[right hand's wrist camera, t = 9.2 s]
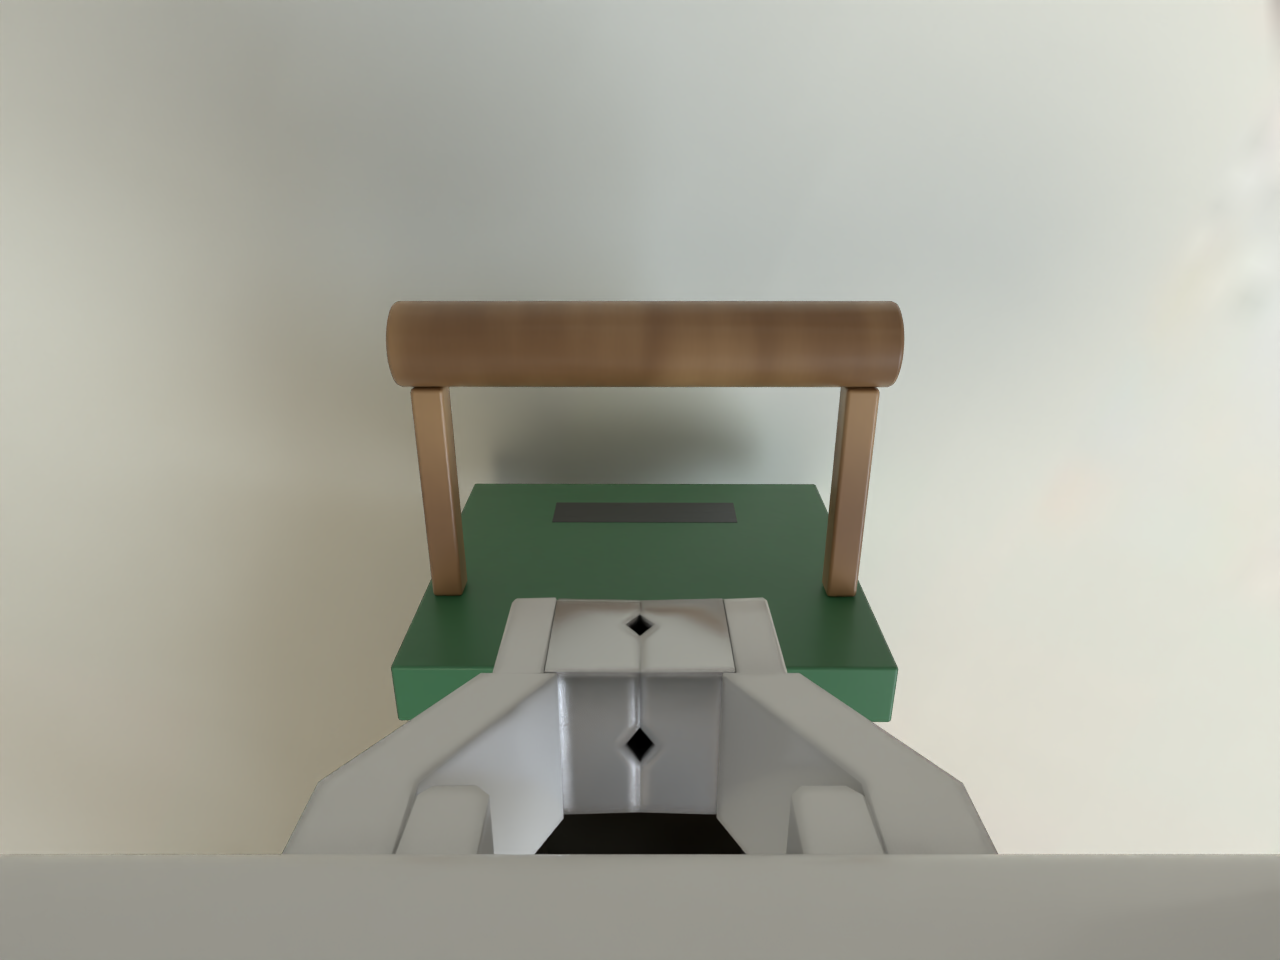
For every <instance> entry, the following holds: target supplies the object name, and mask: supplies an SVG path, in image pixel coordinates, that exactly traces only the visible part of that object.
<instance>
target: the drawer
mask: <svg viewBox="0 0 1280 960" xmlns="http://www.w3.org/2000/svg"><path fill="white" fill-rule="evenodd" d="M386 349H387V358H388V363H389V367H390V371H391V374H392V377H393V379H394V381H395V382H396V383H397V384H398V385H400V386H402V387H413V388H412V390H411V392H410V393H411V401H412V410H413V419H414V428H415V436H416V445H417V454H418V463H419V471H420V480H421V489H422V498H423V506H424V515H425V524H426V533H427V541H428V550H429V559H430V568H431V576H432V579H431V581H430V583H429V586H428V588H427V590H426V592H425V594H424V596H423V599H422V601H421V603H420V605H419V607H418V610H417V612H416V614H415V616H414V618H413V620H412V623H411V625H410V627H409V629H408V631H407V634H406V636H405V638H404V640H403V642H402V644H401V647H400V649H399V651H398V653H397V655H396V658H395V660H394V662H393V664H392V666H391V671H392V678H393V685H394V692H395V699H396V706H397V713H398V718H399V720H412V719H413V718H414V717H416V716H417V715H419V714H420V713H422V712H423V711H425V710H426V709H428V708H429V707H431V706H432V705H434V704H435V703H437V702H438V701H440V700H441V699H443V698H444V697H446V696H447V695H449V694H450V693H452V692H453V691H455V690H456V689H458V688H459V687H461V686H462V685H464V684H465V683H467V682H468V681H470V680H471V679H473V678H474V677H476V676H477V675H479V674H480V673H493V669H494V666H495V662H496V659H497V655H498V651H499V648H500V644H501V641H502V637H503V634H504V630H505V626H506V623H507V619H508V616H509V612H510V608H511V605H512V602H513V601H514V600H515V599H517V598H556V599H557V600H558V599H559V598H566V599H619V600H678V599H719V598H722V599H735V598H758V597H763V598H764V599H766V600H767V602H768V606H769V609H770V613H771V616H772V620H773V624H774V627H775V631H776V634H777V638H778V641H779V645H780V648H781V652H782V655H783V659H784V662H785V666H786V669H787V673H800V674H802V675H803V676H804V677H806V678H807V679H809V680H810V681H812V682H813V683H815V684H816V685H818V686H819V687H821V688H822V689H824V690H825V691H827V692H828V693H830V694H831V695H833V696H834V697H836V698H837V699H839V700H840V701H842V702H843V703H845V704H846V705H847V706H849V707H850V708H852V709H853V710H855V711H856V712H858V713H859V714H861V715H862V716H864V717H865V718H867V719H868V720H870V721H871V722H889V721H890V720H891V715H892V708H893V702H894V695H895V688H896V681H897V674H898V667H897V665H896V663H895V661H894V658H893V656H892V654H891V652H890V650H889V647H888V645H887V643H886V641H885V638H884V636H883V634H882V632H881V630H880V627H879V625H878V623H877V621H876V618H875V616H874V614H873V612H872V610H871V607H870V605H869V603H868V601H867V599H866V596H865V594H864V592H863V590H862V587H861V585H860V583H859V581H858V574H859V565H860V556H861V548H862V539H863V531H864V522H865V513H866V505H867V496H868V488H869V479H870V471H871V462H872V453H873V445H874V436H875V428H876V419H877V411H878V402H879V390H878V389H877V387H889V386H891V385H893V384H894V383H895V381H896V379H897V377H898V375H899V372H900V368H901V364H902V359H903V352H904V325H903V319H902V314H901V311H900V308H899V306H898V305H897V304H896V303H894V302H892V301H398V302H396V303H394V304H393V305H392V307H391V309H390V312H389V316H388V320H387V328H386ZM449 387H841V392H840V402H839V412H838V422H837V433H836V443H835V453H834V464H833V474H832V484H831V494H830V505H829V514H828V512H827V510H826V508H825V505H824V503H823V501H822V499H821V496H820V494H819V492H818V490H817V488H816V485H814V484H475V485H474V487H473V490H472V492H471V494H470V496H469V498H468V500H467V503H466V505H465V507H464V509H463V511H462V514H461V508H460V498H459V487H458V477H457V466H456V456H455V445H454V435H453V424H452V414H451V403H450V393H449ZM563 818H564V819H563V820H562V821H561V822H560V823H559V825H558V826H557V827H556V828H555V830H554V831H553V832H552V833H551V834H550V836H549V837H548V838H547V839H546V841H545V842H544V843H543V844H542V846H541V847H540V848H539V849H538V850H537V852H536V853H535V854H746V853H745V852H744V851H743V850H742V849H741V847H740V846H739V845H738V844H737V842H736V841H735V840H734V839H733V837H732V836H731V835H730V834H729V832H728V831H727V830H726V829H725V828H724V826H723V825H722V824H721V823H720V821H719V820H718V819H717V814H684V813H647V812H630V813H595V814H563Z"/></svg>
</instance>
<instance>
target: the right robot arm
mask: <svg viewBox="0 0 1280 960" xmlns="http://www.w3.org/2000/svg"><path fill="white" fill-rule="evenodd" d="M630 812H647V813H684V814H717V819H718V820H719V821H720V823H721V824H722V825H723V826H724V828H725V829H726V830H727V831H728V832H729V834H730V835H731V836H732V837H733V839H734V840H735V841H736V842H737V844H738V845H739V846H740V847H741V849H742V850H743V851H744V852H745V853H746V854H535V853H536V852H537V850H538V849H539V848H540V847H541V846H542V844H543V843H544V842H545V841H546V839H547V838H548V837H549V836H550V834H551V833H552V832H553V831H554V830H555V828H556V827H557V826H558V825H559V823H560V822H561V821H562V820H563V819H564V818H563V814H595V813H630ZM0 960H1280V854H998V853H997V851H996V849H995V847H994V845H993V843H992V841H991V839H990V837H989V835H988V833H987V831H986V829H985V827H984V825H983V823H982V821H981V819H980V817H979V815H978V813H977V811H976V809H975V807H974V805H973V803H972V801H971V799H970V797H969V795H968V793H967V791H966V789H965V787H964V785H963V783H962V782H960V781H959V780H957V779H956V778H954V777H953V776H951V775H950V774H948V773H947V772H945V771H944V770H942V769H941V768H939V767H938V766H936V765H935V764H933V763H932V762H930V761H929V760H928V759H926V758H925V757H923V756H922V755H920V754H919V753H917V752H916V751H914V750H913V749H911V748H910V747H908V746H907V745H905V744H904V743H902V742H901V741H899V740H898V739H896V738H895V737H893V736H892V735H890V734H889V733H888V732H886V731H885V730H883V729H882V728H880V727H879V726H877V725H876V724H874V723H873V722H871V721H870V720H868V719H867V718H865V717H864V716H862V715H861V714H859V713H858V712H856V711H855V710H853V709H852V708H850V707H849V706H847V705H846V704H845V703H843V702H842V701H840V700H839V699H837V698H836V697H834V696H833V695H831V694H830V693H828V692H827V691H825V690H824V689H822V688H821V687H819V686H818V685H816V684H815V683H813V682H812V681H810V680H809V679H807V678H806V677H804V676H803V675H802V674H800V673H787V669H786V666H785V662H784V659H783V655H782V652H781V648H780V645H779V641H778V638H777V634H776V631H775V627H774V624H773V620H772V616H771V613H770V609H769V606H768V602H767V600H766V599H764V598H763V597H758V598H735V599H722V598H719V599H678V600H619V599H566V598H559V599H558V600H557V599H556V598H517V599H515V600H514V601H513V602H512V605H511V608H510V612H509V616H508V619H507V623H506V626H505V630H504V634H503V637H502V641H501V644H500V648H499V651H498V655H497V659H496V662H495V666H494V669H493V673H480V674H479V675H477V676H476V677H474V678H473V679H471V680H470V681H468V682H467V683H465V684H464V685H462V686H461V687H459V688H458V689H456V690H455V691H453V692H452V693H450V694H449V695H447V696H446V697H444V698H443V699H441V700H440V701H438V702H437V703H435V704H434V705H432V706H431V707H429V708H428V709H426V710H425V711H423V712H422V713H420V714H419V715H417V716H416V717H414V718H413V719H412V720H410V721H409V722H407V723H406V724H404V725H403V726H401V727H400V728H398V729H397V730H395V731H394V732H392V733H391V734H389V735H388V736H386V737H385V738H383V739H382V740H380V741H379V742H377V743H376V744H374V745H373V746H371V747H370V748H368V749H367V750H365V751H364V752H362V753H361V754H359V755H358V756H356V757H355V758H353V759H352V760H350V761H349V762H347V763H346V764H344V765H343V766H341V767H340V768H339V769H337V770H336V771H334V772H333V773H331V774H330V775H328V776H327V777H325V778H324V779H322V780H321V781H319V782H318V784H317V786H316V788H315V790H314V792H313V793H312V795H311V797H310V799H309V801H308V803H307V805H306V807H305V809H304V811H303V813H302V815H301V817H300V819H299V821H298V823H297V825H296V827H295V829H294V831H293V833H292V835H291V837H290V839H289V841H288V843H287V845H286V847H285V849H284V851H283V853H282V854H0Z"/></svg>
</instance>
